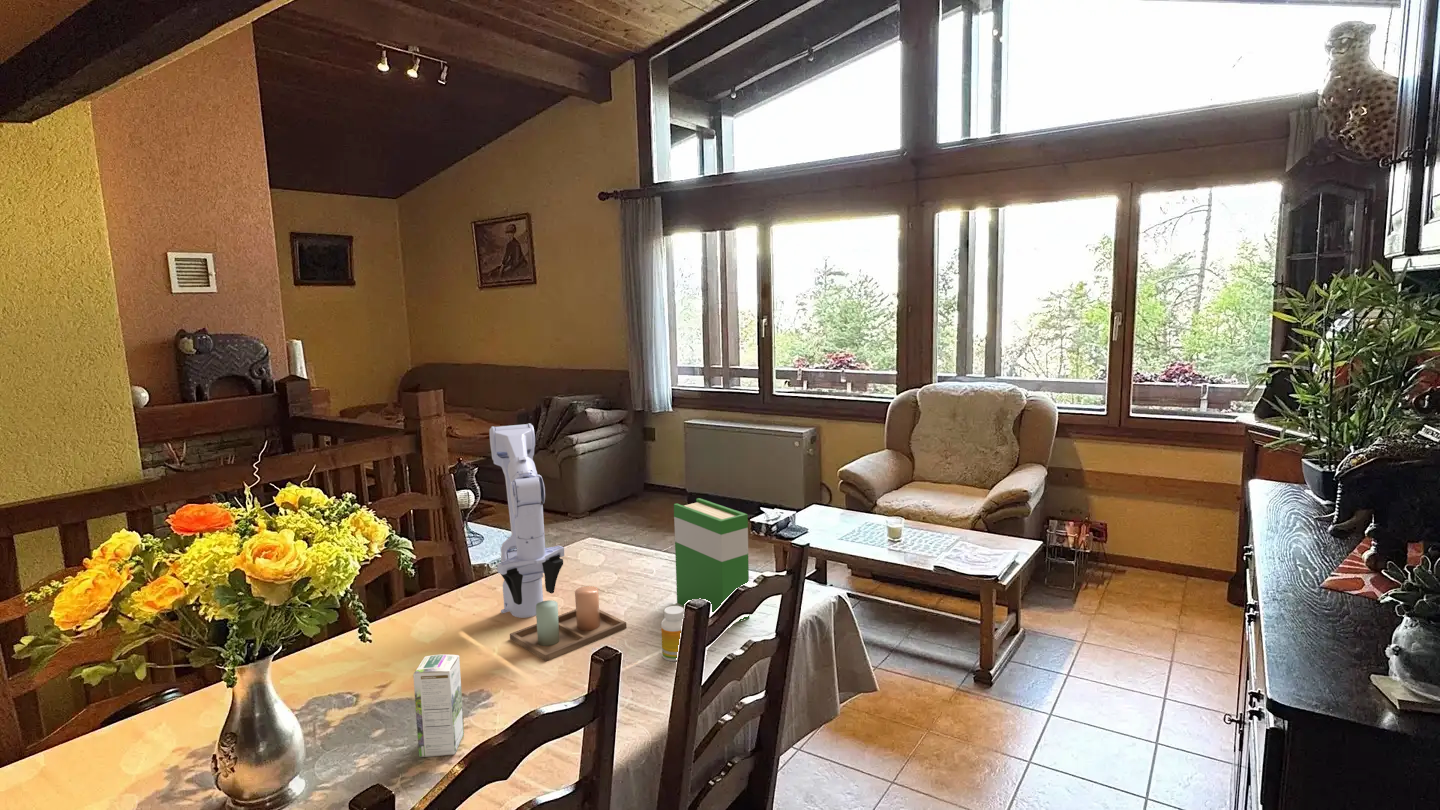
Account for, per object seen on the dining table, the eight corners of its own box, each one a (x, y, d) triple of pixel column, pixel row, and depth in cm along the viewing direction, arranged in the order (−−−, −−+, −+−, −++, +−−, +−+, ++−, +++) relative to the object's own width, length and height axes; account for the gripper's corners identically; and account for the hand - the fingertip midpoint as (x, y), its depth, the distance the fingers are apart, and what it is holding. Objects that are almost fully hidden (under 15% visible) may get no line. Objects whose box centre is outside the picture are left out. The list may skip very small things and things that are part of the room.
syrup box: (429, 737, 123) (422, 655, 121) (465, 734, 123) (459, 652, 121) (418, 758, 117) (410, 672, 115) (456, 755, 118) (449, 670, 116)
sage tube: (533, 641, 154) (531, 604, 153) (552, 634, 157) (550, 598, 156) (544, 648, 151) (542, 610, 150) (563, 641, 154) (561, 604, 153)
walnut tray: (510, 642, 156) (509, 633, 156) (589, 612, 170) (588, 604, 170) (546, 664, 146) (545, 655, 146) (626, 631, 160) (626, 622, 160)
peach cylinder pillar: (572, 626, 161) (570, 591, 160) (591, 618, 165) (589, 584, 164) (585, 632, 158) (583, 597, 157) (604, 625, 161) (602, 590, 160)
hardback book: (677, 602, 174) (673, 504, 171) (702, 594, 179) (699, 498, 175) (723, 628, 160) (720, 521, 157) (749, 618, 165) (747, 514, 161)
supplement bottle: (685, 663, 146) (683, 616, 144) (659, 661, 147) (657, 614, 145) (691, 650, 151) (690, 604, 149) (666, 648, 152) (664, 603, 150)
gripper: (508, 548, 145) (512, 613, 147) (571, 530, 155) (574, 592, 157) (490, 540, 150) (495, 604, 152) (552, 523, 160) (556, 583, 162)
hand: (534, 597), depth 154 cm, fingers open, 7 cm apart
